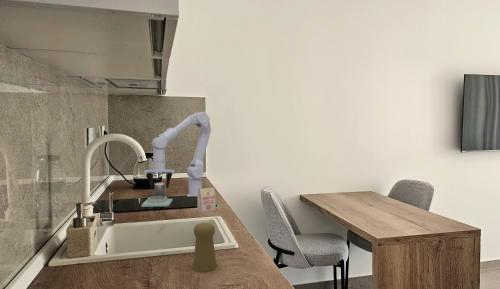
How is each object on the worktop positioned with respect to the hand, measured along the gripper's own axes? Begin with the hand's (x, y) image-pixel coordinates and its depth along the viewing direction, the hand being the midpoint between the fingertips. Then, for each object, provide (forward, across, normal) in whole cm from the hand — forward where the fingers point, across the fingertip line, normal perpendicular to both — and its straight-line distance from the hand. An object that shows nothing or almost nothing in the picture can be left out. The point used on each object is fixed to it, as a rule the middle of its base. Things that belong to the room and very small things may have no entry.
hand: (159, 188), depth 173 cm
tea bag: (+6, +25, -29) cm, 39 cm away
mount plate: (+6, +1, -11) cm, 12 cm away
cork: (+6, +28, -89) cm, 94 cm away
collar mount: (+6, +1, -11) cm, 12 cm away
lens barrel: (+6, 0, 0) cm, 6 cm away
